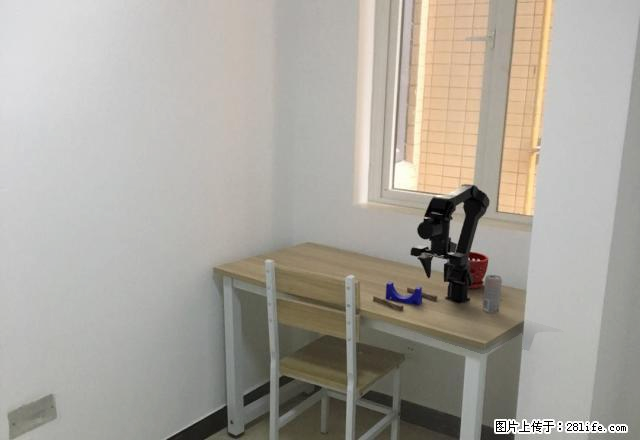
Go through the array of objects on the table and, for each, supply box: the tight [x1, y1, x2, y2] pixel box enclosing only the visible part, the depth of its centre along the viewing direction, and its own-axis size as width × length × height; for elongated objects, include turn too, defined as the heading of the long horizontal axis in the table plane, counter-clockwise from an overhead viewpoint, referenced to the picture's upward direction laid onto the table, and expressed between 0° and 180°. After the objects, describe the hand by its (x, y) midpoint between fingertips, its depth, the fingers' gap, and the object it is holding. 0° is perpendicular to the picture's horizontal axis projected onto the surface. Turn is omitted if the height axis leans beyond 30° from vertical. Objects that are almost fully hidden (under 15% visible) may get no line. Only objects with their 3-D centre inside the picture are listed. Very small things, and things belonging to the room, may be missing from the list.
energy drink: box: [482, 274, 503, 314], centre depth 201 cm, size 5×5×12 cm
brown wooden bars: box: [372, 286, 438, 311], centre depth 211 cm, size 13×19×2 cm
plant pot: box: [453, 251, 489, 289], centre depth 229 cm, size 13×13×12 cm
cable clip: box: [385, 280, 423, 306], centre depth 210 cm, size 12×4×6 cm, turn 64°
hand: (437, 279), depth 199 cm, fingers open, 6 cm apart
